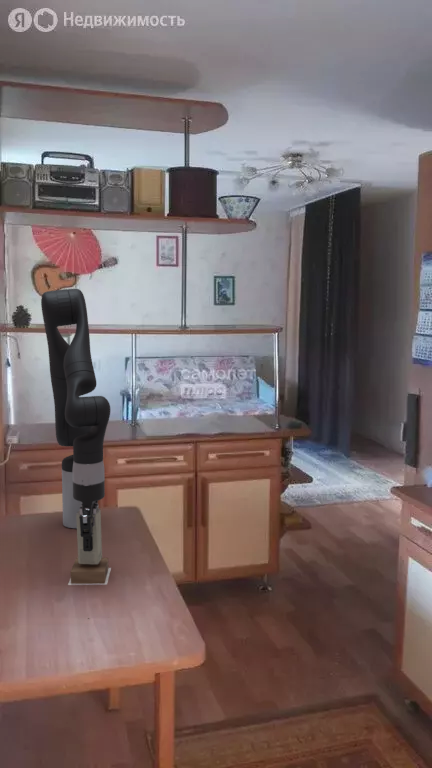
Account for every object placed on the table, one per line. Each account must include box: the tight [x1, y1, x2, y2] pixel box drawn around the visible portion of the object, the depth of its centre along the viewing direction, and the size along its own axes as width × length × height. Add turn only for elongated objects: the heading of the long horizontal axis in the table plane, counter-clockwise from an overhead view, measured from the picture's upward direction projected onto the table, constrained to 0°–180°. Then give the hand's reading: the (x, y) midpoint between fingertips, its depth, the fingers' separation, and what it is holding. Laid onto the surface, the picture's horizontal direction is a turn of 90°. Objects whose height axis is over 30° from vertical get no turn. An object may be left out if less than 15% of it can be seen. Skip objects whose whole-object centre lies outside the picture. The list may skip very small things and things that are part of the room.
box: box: [76, 508, 103, 564], centre depth 161 cm, size 5×4×13 cm
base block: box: [70, 557, 109, 584], centre depth 162 cm, size 8×8×3 cm
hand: (89, 546), depth 161 cm, fingers closed on box, 4 cm apart
